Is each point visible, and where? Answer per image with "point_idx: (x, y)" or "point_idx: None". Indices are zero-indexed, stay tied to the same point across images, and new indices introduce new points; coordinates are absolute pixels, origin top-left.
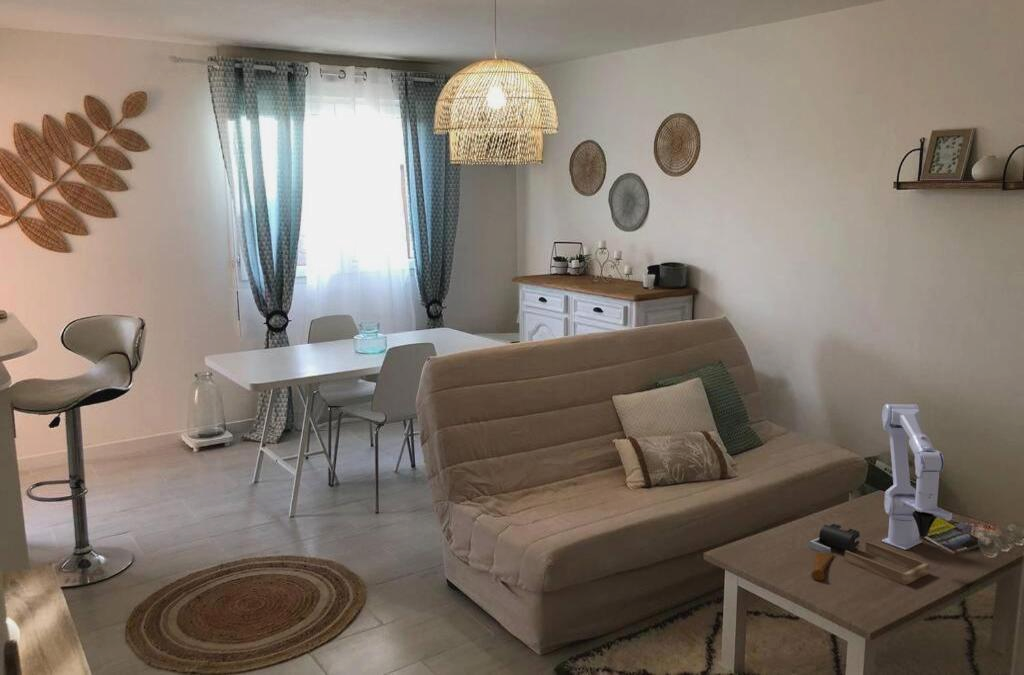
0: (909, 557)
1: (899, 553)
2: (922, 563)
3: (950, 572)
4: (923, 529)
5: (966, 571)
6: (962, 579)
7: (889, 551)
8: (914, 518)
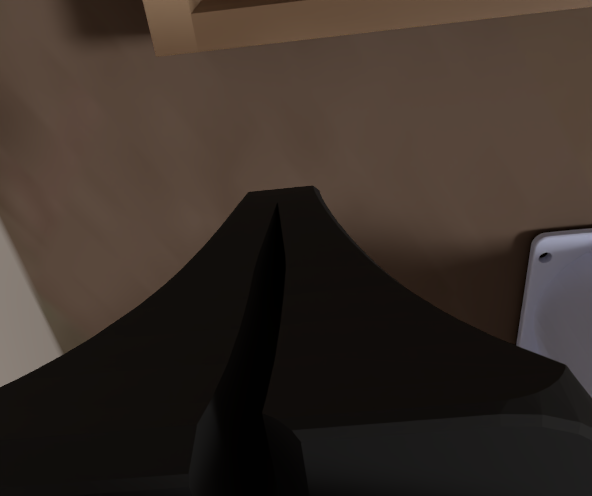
0: (360, 11)
1: (481, 3)
2: (205, 12)
3: (126, 198)
4: (225, 247)
5: (99, 291)
6: (3, 173)
7: None
8: (463, 324)
